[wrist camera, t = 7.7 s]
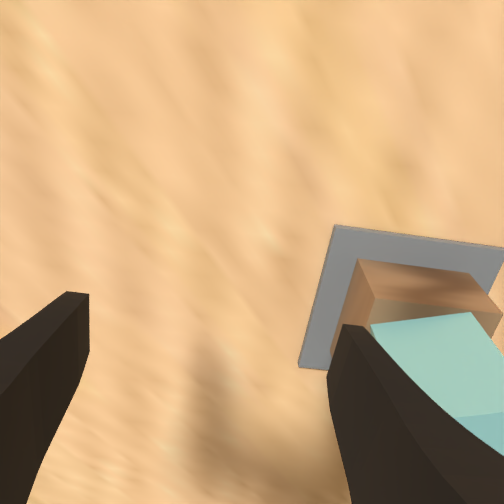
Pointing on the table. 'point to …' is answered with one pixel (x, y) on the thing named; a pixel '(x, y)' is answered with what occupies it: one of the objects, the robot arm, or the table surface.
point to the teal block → (452, 368)
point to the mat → (386, 250)
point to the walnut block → (412, 296)
